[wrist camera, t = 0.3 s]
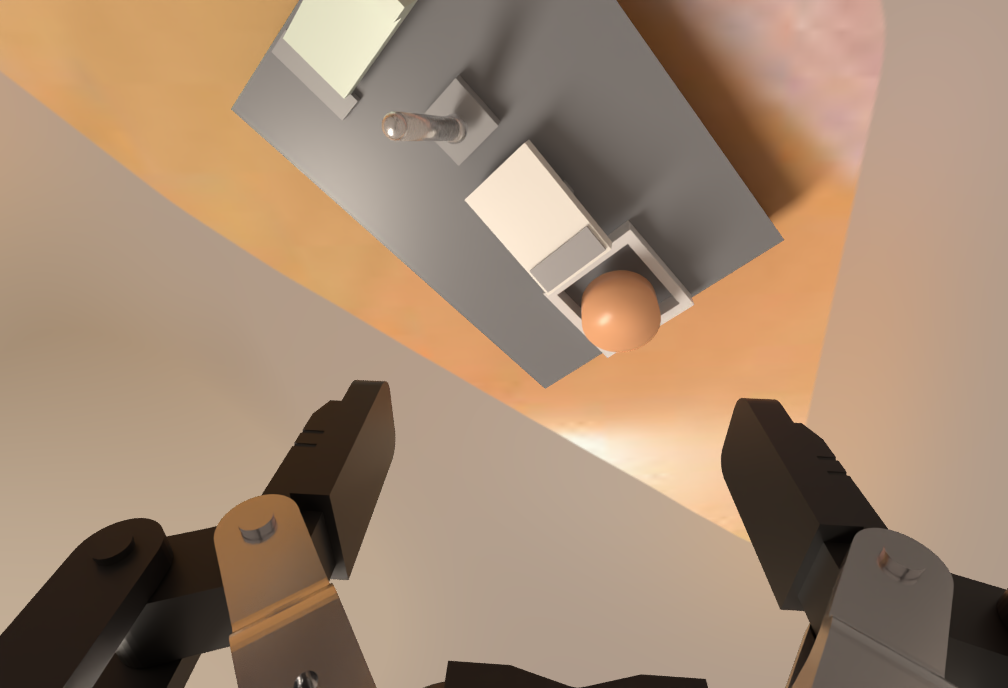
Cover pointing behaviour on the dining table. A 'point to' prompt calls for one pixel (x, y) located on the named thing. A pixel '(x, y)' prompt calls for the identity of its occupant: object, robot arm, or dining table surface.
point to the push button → (620, 311)
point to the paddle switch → (344, 36)
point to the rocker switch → (539, 219)
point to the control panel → (496, 136)
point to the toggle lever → (424, 127)
